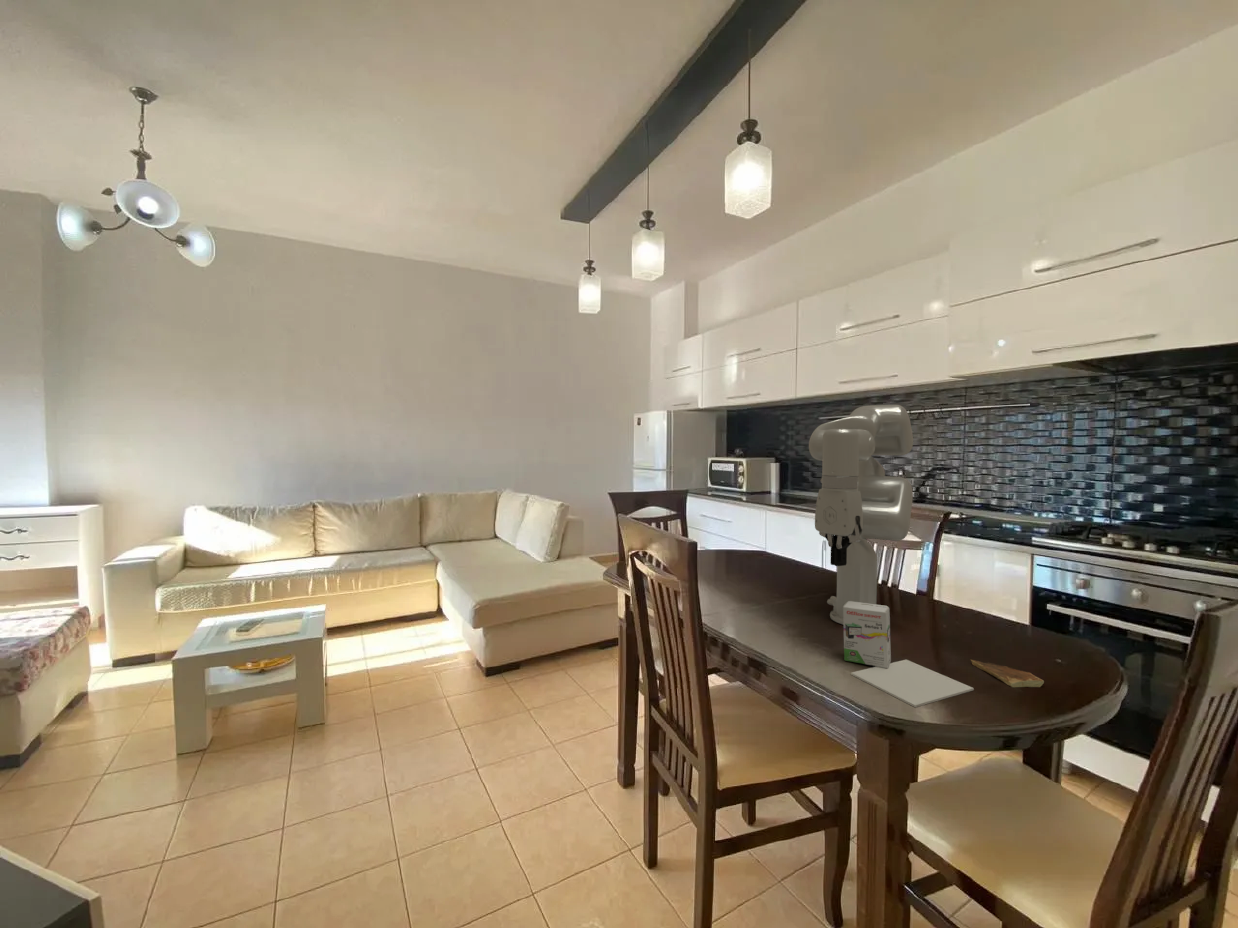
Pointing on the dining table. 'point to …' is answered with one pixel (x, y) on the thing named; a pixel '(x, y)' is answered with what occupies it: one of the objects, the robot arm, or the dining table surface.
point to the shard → (1009, 674)
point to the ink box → (867, 634)
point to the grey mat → (912, 682)
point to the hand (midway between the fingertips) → (838, 564)
